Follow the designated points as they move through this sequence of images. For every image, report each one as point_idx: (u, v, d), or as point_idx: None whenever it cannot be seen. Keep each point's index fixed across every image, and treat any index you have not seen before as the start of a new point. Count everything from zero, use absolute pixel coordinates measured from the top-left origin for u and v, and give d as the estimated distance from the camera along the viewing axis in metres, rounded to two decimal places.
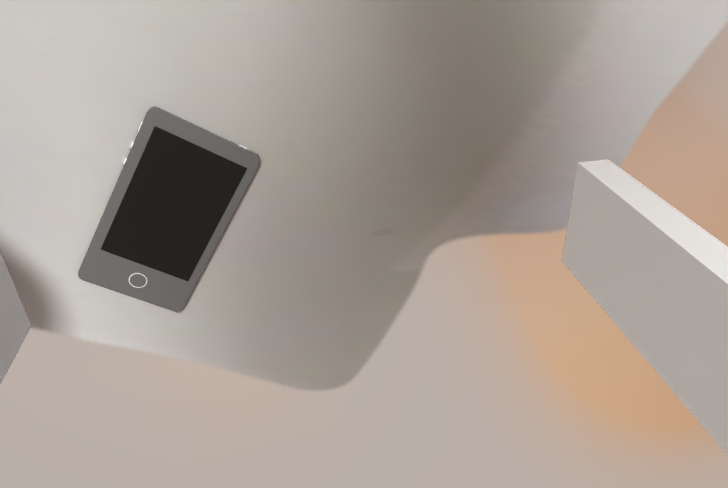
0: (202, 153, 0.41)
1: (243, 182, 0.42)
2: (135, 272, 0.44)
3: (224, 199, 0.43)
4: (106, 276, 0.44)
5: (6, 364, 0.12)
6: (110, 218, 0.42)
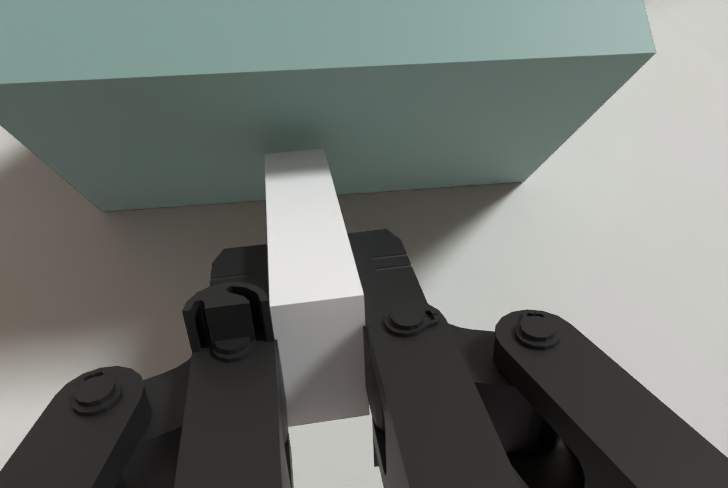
0: None
1: None
2: None
3: None
4: None
5: None
6: None
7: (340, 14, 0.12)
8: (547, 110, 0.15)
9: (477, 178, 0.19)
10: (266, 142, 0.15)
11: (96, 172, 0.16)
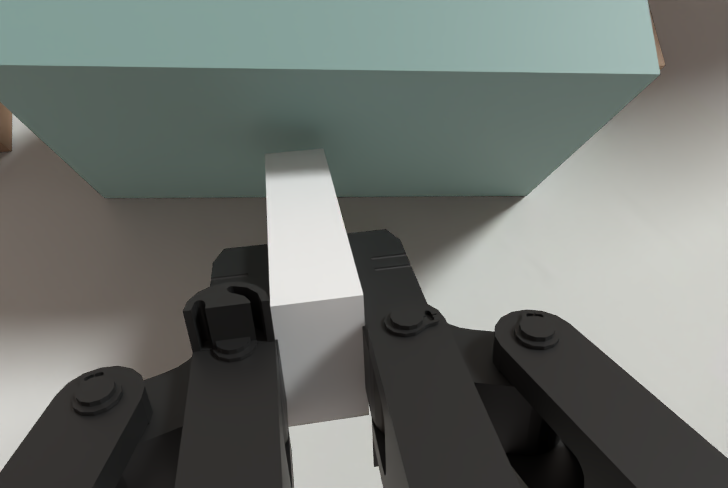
0: None
1: None
2: None
3: None
4: None
5: None
6: None
7: (345, 16, 0.12)
8: (549, 126, 0.15)
9: (478, 189, 0.19)
10: (267, 140, 0.15)
11: (98, 158, 0.16)
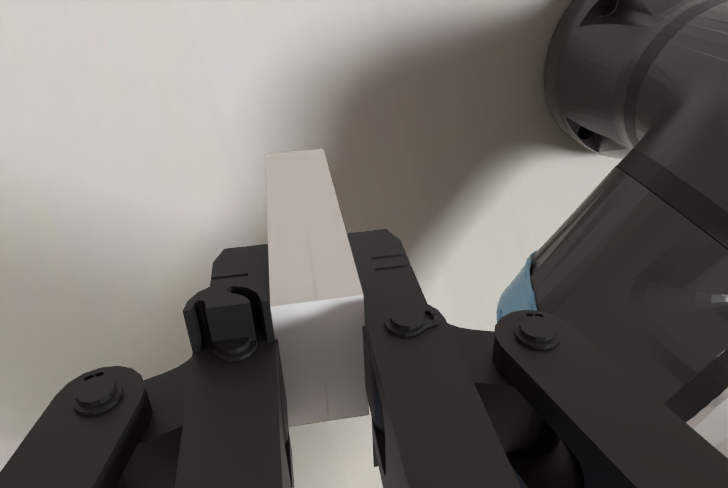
0: None
1: None
2: None
3: None
4: None
5: None
6: None
7: None
8: None
9: None
10: None
11: None
